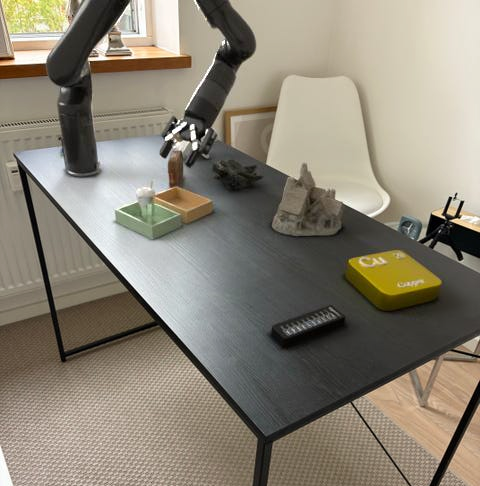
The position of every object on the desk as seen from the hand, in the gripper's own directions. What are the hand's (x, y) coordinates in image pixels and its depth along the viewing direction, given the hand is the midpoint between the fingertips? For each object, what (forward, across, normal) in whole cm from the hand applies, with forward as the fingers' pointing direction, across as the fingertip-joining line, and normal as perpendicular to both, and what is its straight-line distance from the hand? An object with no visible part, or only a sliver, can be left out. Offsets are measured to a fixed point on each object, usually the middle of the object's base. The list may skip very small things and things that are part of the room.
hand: (174, 161), depth 120 cm
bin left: (+16, 0, +3) cm, 17 cm away
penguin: (-16, -26, +36) cm, 47 cm away
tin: (0, -14, +20) cm, 24 cm away
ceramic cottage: (-3, +29, +23) cm, 37 cm away
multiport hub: (+23, +53, -3) cm, 58 cm away
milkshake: (+16, 0, +3) cm, 17 cm away
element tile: (+5, +58, +14) cm, 60 cm away
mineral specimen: (-8, 0, +28) cm, 29 cm away
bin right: (+8, 0, +11) cm, 14 cm away
